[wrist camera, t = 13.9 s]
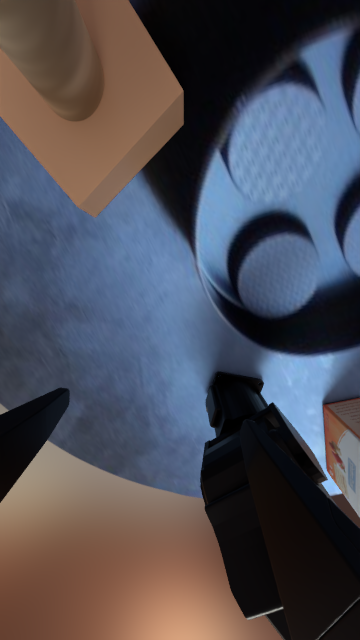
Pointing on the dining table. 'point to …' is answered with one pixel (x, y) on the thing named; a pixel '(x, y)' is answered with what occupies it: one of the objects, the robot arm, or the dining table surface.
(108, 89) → the terracotta plinth
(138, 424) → the dining table surface
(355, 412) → the cracker box
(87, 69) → the birch column
